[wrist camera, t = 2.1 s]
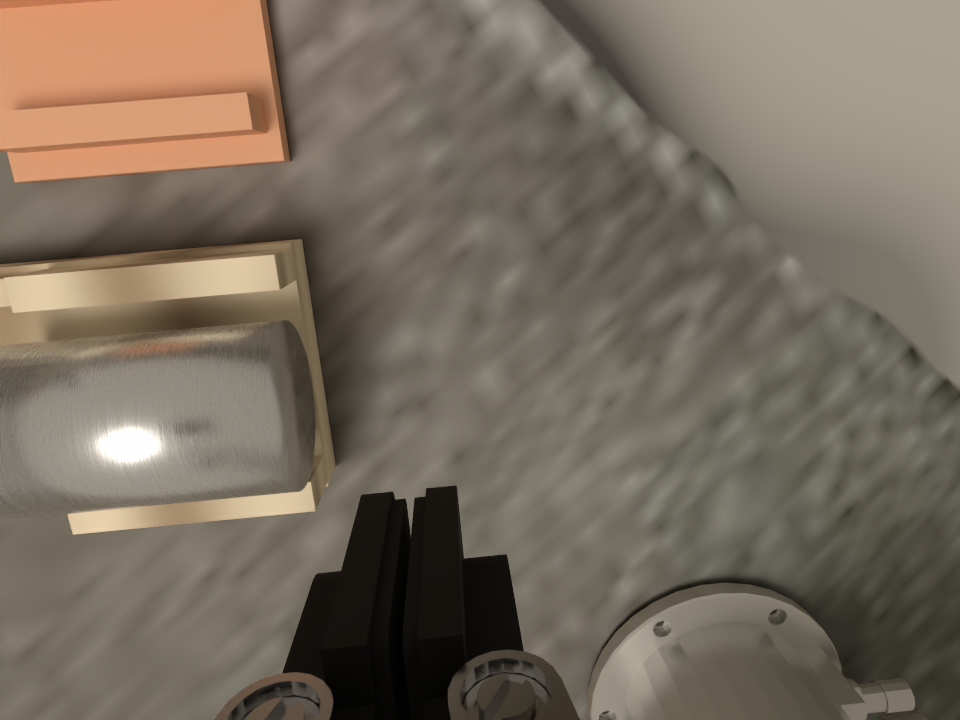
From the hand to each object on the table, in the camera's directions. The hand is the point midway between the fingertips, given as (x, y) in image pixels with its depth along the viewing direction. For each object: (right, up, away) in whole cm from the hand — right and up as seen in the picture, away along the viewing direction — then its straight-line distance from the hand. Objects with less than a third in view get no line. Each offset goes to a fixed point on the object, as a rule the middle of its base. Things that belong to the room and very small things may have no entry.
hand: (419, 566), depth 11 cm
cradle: (-12, +15, +13) cm, 23 cm away
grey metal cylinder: (-11, +3, +14) cm, 18 cm away
